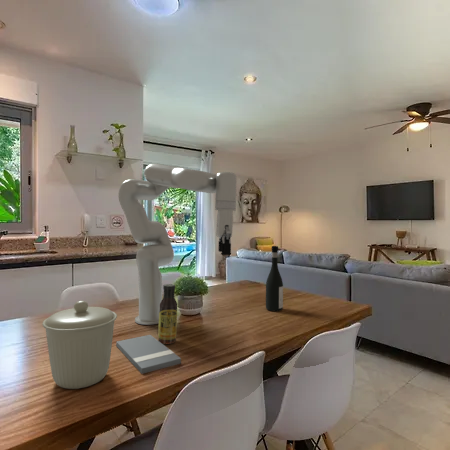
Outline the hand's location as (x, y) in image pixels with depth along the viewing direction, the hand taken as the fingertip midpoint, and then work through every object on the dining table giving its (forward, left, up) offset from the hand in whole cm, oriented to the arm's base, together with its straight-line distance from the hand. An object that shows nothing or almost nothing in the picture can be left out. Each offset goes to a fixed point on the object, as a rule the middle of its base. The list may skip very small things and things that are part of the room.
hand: (224, 253), depth 123 cm
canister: (+7, -51, -31) cm, 60 cm away
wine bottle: (-15, +39, -31) cm, 52 cm away
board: (+1, -30, -30) cm, 43 cm away
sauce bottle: (-5, -20, -31) cm, 37 cm away
